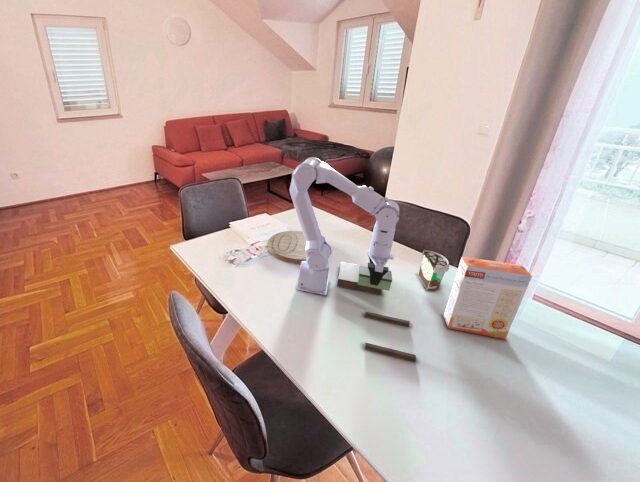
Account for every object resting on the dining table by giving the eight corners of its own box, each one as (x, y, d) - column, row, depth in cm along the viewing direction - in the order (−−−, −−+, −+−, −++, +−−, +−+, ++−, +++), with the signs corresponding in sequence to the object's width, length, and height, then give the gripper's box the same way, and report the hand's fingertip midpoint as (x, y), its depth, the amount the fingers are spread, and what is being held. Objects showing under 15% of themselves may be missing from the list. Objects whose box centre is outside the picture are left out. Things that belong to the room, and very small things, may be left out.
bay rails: (364, 348, 83) (365, 345, 82) (364, 314, 95) (365, 311, 94) (415, 361, 79) (416, 358, 78) (408, 324, 91) (409, 320, 90)
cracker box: (497, 325, 90) (523, 264, 82) (505, 340, 85) (534, 276, 77) (441, 315, 94) (461, 255, 86) (446, 328, 89) (468, 266, 81)
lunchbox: (357, 284, 97) (359, 273, 95) (357, 275, 101) (359, 265, 100) (389, 291, 94) (392, 280, 92) (388, 281, 98) (391, 270, 97)
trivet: (327, 237, 141) (327, 233, 140) (328, 267, 119) (329, 262, 118) (272, 232, 146) (272, 228, 146) (263, 259, 124) (263, 255, 123)
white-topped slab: (337, 286, 108) (338, 278, 107) (339, 268, 118) (340, 261, 117) (380, 294, 103) (382, 287, 102) (379, 275, 114) (381, 268, 113)
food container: (448, 295, 103) (457, 269, 99) (428, 293, 104) (435, 267, 100) (435, 274, 114) (442, 250, 110) (417, 272, 115) (423, 248, 111)
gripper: (398, 255, 84) (389, 296, 90) (395, 232, 97) (386, 269, 102) (370, 250, 86) (363, 290, 92) (370, 229, 99) (363, 265, 104)
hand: (373, 279), depth 97 cm, fingers closed on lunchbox, 5 cm apart
